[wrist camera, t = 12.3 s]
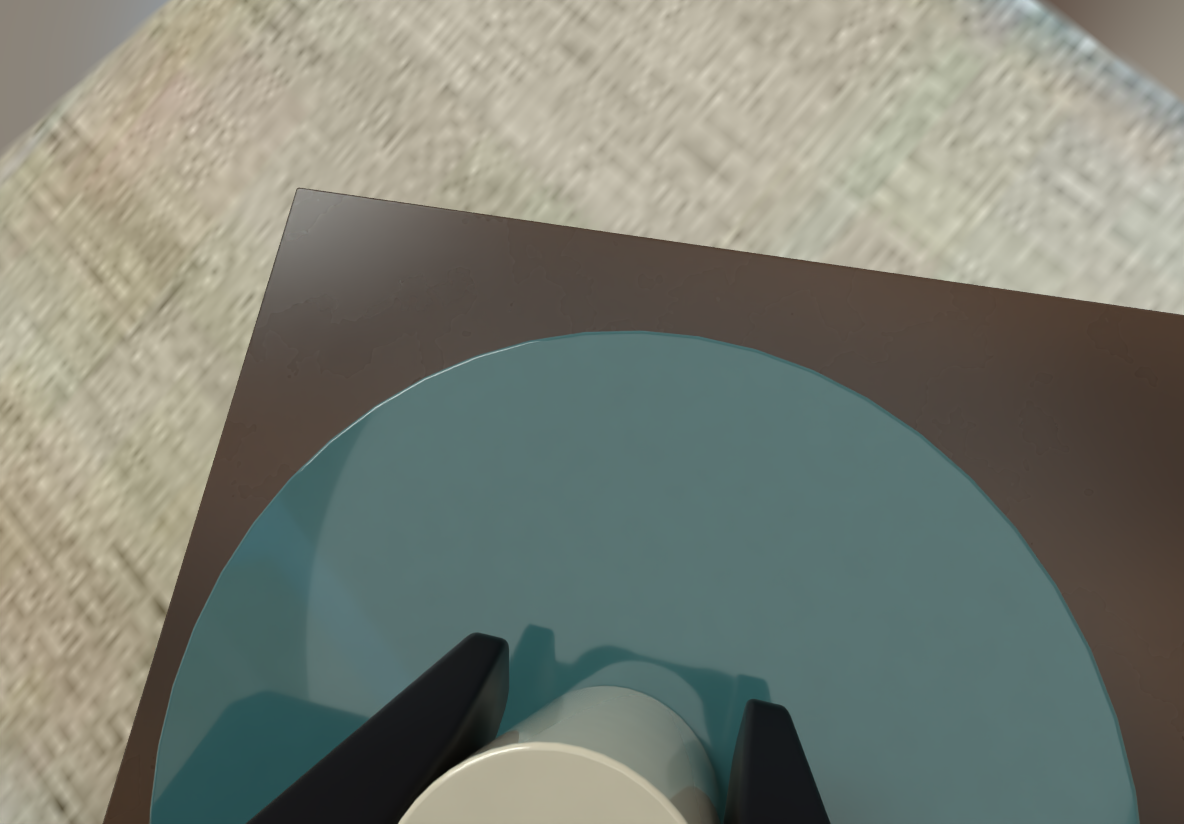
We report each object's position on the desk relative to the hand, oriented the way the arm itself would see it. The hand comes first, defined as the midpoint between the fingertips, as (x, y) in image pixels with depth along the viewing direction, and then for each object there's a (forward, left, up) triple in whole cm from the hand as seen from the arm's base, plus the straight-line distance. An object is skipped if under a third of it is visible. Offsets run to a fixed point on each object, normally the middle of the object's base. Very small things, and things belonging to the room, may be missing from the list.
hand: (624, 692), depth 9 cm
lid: (-1, +1, -2) cm, 2 cm away
